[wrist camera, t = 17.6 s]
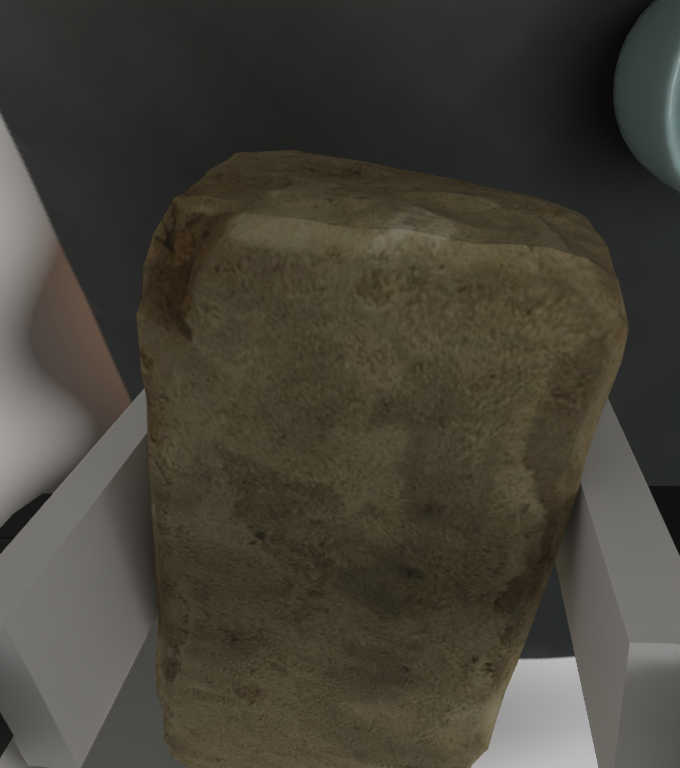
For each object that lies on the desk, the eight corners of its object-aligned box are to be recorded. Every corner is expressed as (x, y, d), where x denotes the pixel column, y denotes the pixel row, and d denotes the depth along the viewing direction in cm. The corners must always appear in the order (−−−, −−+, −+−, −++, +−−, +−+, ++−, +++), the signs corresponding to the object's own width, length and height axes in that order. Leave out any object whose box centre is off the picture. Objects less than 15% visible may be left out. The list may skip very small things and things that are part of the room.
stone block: (581, 163, 10) (686, 262, 6) (459, 641, 16) (465, 871, 11) (229, 127, 11) (82, 193, 6) (233, 603, 16) (157, 809, 12)
